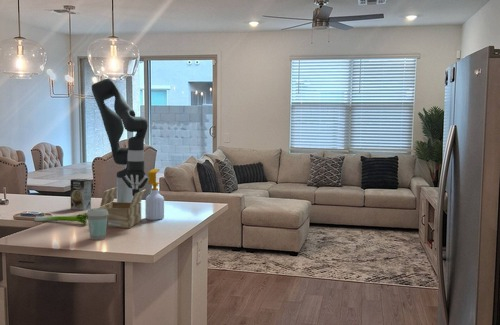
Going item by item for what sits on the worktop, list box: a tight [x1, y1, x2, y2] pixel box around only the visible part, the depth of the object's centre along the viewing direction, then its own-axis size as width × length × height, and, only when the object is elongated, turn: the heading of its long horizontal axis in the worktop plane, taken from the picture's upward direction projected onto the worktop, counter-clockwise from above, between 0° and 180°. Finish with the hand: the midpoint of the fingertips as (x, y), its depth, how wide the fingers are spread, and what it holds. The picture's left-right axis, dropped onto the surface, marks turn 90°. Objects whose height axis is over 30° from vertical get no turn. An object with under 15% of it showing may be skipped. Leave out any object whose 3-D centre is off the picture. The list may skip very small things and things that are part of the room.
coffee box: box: [70, 178, 92, 211], centre depth 273 cm, size 9×6×16 cm
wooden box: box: [99, 201, 142, 229], centre depth 236 cm, size 17×14×9 cm
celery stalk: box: [34, 212, 88, 226], centre depth 237 cm, size 6×7×30 cm
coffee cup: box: [86, 207, 108, 241], centre depth 208 cm, size 8×8×12 cm
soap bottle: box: [144, 168, 165, 221], centre depth 251 cm, size 9×9×25 cm
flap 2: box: [129, 188, 147, 208], centre depth 235 cm, size 15×1×7 cm, turn 174°
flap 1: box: [100, 186, 117, 207], centre depth 236 cm, size 15×1×7 cm, turn 174°
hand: (135, 197), depth 234 cm, fingers closed
